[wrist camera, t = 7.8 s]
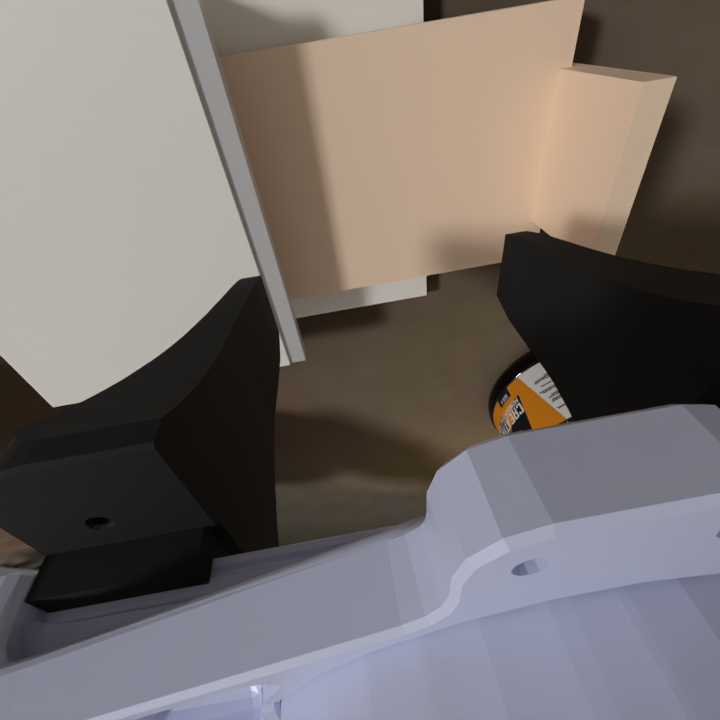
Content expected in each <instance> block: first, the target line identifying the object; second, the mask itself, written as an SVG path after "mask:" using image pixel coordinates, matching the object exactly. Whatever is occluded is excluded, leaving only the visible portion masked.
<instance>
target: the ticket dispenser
mask: <svg viewBox="0 0 720 720" xmlns="http://www.w3.org/2000/svg"><path fill="white" fill-rule="evenodd" d="M421 22H423V0H0V355H1V356H2V357H3V358H4V359H5V360H6V361H7V362H8V363H9V364H10V365H11V366H12V367H13V368H14V369H15V370H16V371H17V372H18V373H19V374H20V375H21V376H22V377H23V378H24V379H25V380H26V381H27V382H28V383H29V384H30V385H31V386H32V387H33V388H34V389H35V390H36V391H37V392H38V393H39V394H40V395H41V396H42V397H43V398H44V399H45V400H46V401H47V402H48V403H49V404H50V405H51V406H52V407H58V406H63V405H69V404H75V403H80V402H82V401H84V400H86V399H88V398H90V397H92V396H94V395H96V394H98V393H99V392H101V391H103V390H105V389H107V388H109V387H110V386H112V385H114V384H116V383H117V382H119V381H121V380H122V379H124V378H126V377H127V376H129V375H130V374H132V373H133V372H135V371H136V370H138V369H139V368H141V367H143V366H144V365H146V364H147V363H149V362H150V361H152V360H153V359H155V358H156V357H157V356H159V355H160V354H161V353H163V352H164V351H165V350H167V349H168V348H169V347H171V346H172V345H173V344H174V343H176V342H177V341H178V340H179V339H180V338H182V337H183V336H184V335H185V334H186V333H187V332H188V331H189V330H190V329H191V328H192V327H193V326H194V325H196V324H197V323H198V322H199V321H200V320H201V319H202V318H203V317H204V316H205V315H206V314H207V313H208V312H209V311H210V310H211V309H212V308H213V307H214V305H215V304H216V303H217V302H218V301H219V300H220V299H221V298H222V297H223V296H224V295H225V294H226V293H227V291H228V290H229V289H230V288H231V287H232V286H233V285H234V284H235V283H236V282H237V281H238V280H239V279H243V278H249V277H255V276H261V277H262V280H263V284H264V287H265V290H266V293H267V296H268V299H269V302H270V305H271V308H272V311H273V315H274V318H275V321H276V324H277V327H278V330H279V339H280V367H281V366H287V365H290V363H293V362H298V361H304V360H306V351H305V348H304V344H303V341H302V338H301V334H300V331H299V327H298V324H297V321H296V318H301V317H306V316H312V315H318V314H323V313H329V312H334V311H340V310H346V309H351V308H357V307H363V306H368V305H374V304H379V303H385V302H391V301H396V300H402V299H408V298H413V297H419V296H424V295H427V286H426V276H422V277H416V278H411V279H405V280H400V281H394V282H388V283H383V284H377V285H371V286H366V287H360V288H354V289H349V290H343V291H337V292H332V293H326V294H321V295H315V296H309V297H304V298H298V299H292V300H290V297H289V293H288V290H287V287H286V283H285V280H284V276H283V273H282V270H281V266H280V263H279V259H278V256H277V252H276V249H275V246H274V242H273V239H272V235H271V232H270V229H269V225H268V222H267V218H266V215H265V212H264V208H263V205H262V201H261V198H260V195H259V191H258V188H257V184H256V181H255V178H254V174H253V171H252V167H251V164H250V161H249V157H248V154H247V150H246V147H245V144H244V140H243V137H242V133H241V130H240V127H239V123H238V120H237V116H236V113H235V110H234V106H233V103H232V99H231V96H230V92H229V89H228V86H227V82H226V79H225V75H224V72H223V69H222V65H221V62H220V58H219V57H223V56H229V55H234V54H240V53H246V52H252V51H258V50H264V49H269V48H275V47H281V46H287V45H293V44H299V43H304V42H310V41H316V40H322V39H328V38H334V37H339V36H345V35H351V34H357V33H363V32H369V31H374V30H380V29H386V28H392V27H398V26H404V25H409V24H415V23H421Z"/></svg>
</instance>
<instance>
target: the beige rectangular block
mask: <svg viewBox="0 0 720 720" xmlns="http://www.w3.org/2000/svg"><path fill="white" fill-rule="evenodd" d="M584 1H585V0H549V1H544V2H538V3H532V4H526V5H520V6H514V7H509V8H503V9H497V10H491V11H485V12H479V13H474V14H468V15H462V16H456V17H450V18H444V19H439V20H433V21H427V22H421V23H415V24H409V25H404V26H398V27H392V28H386V29H380V30H374V31H369V32H363V33H357V34H351V35H345V36H339V37H334V38H328V39H322V40H316V41H310V42H304V43H299V44H293V45H287V46H281V47H275V48H269V49H264V50H258V51H252V52H246V53H240V54H234V55H229V56H223V57H219V58H220V62H221V65H222V69H223V72H224V75H225V79H226V82H227V86H228V89H229V92H230V96H231V99H232V103H233V106H234V110H235V113H236V116H237V120H238V123H239V127H240V130H241V133H242V137H243V140H244V144H245V147H246V150H247V154H248V157H249V161H250V164H251V167H252V171H253V174H254V178H255V181H256V184H257V188H258V191H259V195H260V198H261V201H262V205H263V208H264V212H265V215H266V218H267V222H268V225H269V229H270V232H271V235H272V239H273V242H274V246H275V249H276V252H277V256H278V259H279V263H280V266H281V270H282V273H283V276H284V280H285V283H286V287H287V290H288V293H289V297H290V300H292V299H298V298H304V297H309V296H315V295H321V294H326V293H332V292H337V291H343V290H349V289H354V288H360V287H366V286H371V285H377V284H383V283H388V282H394V281H400V280H405V279H411V278H416V277H422V276H428V275H433V274H439V273H445V272H450V271H456V270H462V269H467V268H473V267H478V266H484V265H490V264H495V263H501V262H502V255H503V248H504V241H505V234H511V233H516V232H522V231H530V232H536V233H539V232H540V228H541V229H542V230H544V231H545V232H546V233H547V234H549V235H550V236H551V237H555V238H558V239H561V240H565V241H568V242H571V243H574V244H577V245H581V246H584V247H587V248H591V249H594V250H597V251H601V252H604V253H608V254H612V255H615V254H616V251H617V248H618V246H619V243H620V240H621V237H622V234H623V231H624V228H625V225H626V223H627V220H628V217H629V214H630V211H631V208H632V205H633V202H634V199H635V197H636V194H637V191H638V188H639V185H640V182H641V179H642V176H643V173H644V171H645V168H646V165H647V162H648V159H649V156H650V153H651V150H652V147H653V145H654V142H655V139H656V136H657V133H658V130H659V127H660V124H661V122H662V119H663V116H664V113H665V110H666V107H667V104H668V101H669V98H670V96H671V93H672V90H673V87H674V84H675V81H676V78H677V76H671V75H663V74H655V73H648V72H640V71H633V70H625V69H618V68H610V67H603V66H595V65H588V64H580V63H573V58H574V53H575V47H576V42H577V37H578V32H579V27H580V22H581V17H582V11H583V6H584Z"/></svg>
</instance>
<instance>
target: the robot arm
mask: <svg viewBox="0 0 720 720" xmlns="http://www.w3.org/2000/svg"><path fill="white" fill-rule="evenodd" d="M497 296H498V298H499V300H500V303H501V305H502V307H503V309H504V311H505V313H506V315H507V317H508V319H509V320H510V322H511V323H512V325H513V326H514V328H515V329H516V330H517V332H518V333H519V335H520V336H521V338H522V339H523V340H524V342H525V343H526V344H527V346H528V347H529V349H530V350H531V351H532V353H533V354H534V355H535V357H536V358H537V360H538V361H539V362H540V364H541V365H542V366H543V368H544V369H545V371H546V372H547V374H548V375H549V377H550V378H551V380H552V381H553V383H554V385H555V386H556V388H557V390H558V392H559V394H560V396H561V397H562V399H563V401H564V403H565V405H566V406H567V408H568V410H569V412H570V414H571V416H572V418H573V420H574V422H569V423H564V424H558V425H553V426H547V427H542V428H536V429H530V430H525V431H519V432H514V433H508V434H503V435H500V436H497V437H494V438H491V439H488V440H485V441H482V442H479V443H476V444H473V445H470V446H467V447H466V448H464V449H463V450H462V451H460V452H459V453H457V454H456V455H455V456H453V457H452V458H451V459H449V460H448V461H447V462H445V463H444V464H442V465H441V466H440V468H439V469H438V470H437V472H436V474H435V476H434V478H433V480H432V483H431V485H430V487H429V489H428V491H427V513H426V515H424V516H421V517H418V518H416V519H413V520H410V521H407V522H405V523H402V524H399V525H394V526H389V527H384V528H378V529H373V530H367V531H362V532H356V533H351V534H345V535H340V536H334V537H329V538H324V539H318V540H313V541H307V542H302V543H296V544H291V545H285V546H280V547H279V545H278V531H277V514H276V495H275V468H274V418H275V409H276V399H277V389H278V380H279V369H280V339H279V330H278V327H277V324H276V321H275V318H274V315H273V311H272V308H271V305H270V302H269V299H268V296H267V293H266V290H265V287H264V284H263V280H262V277H261V276H255V277H249V278H243V279H239V280H238V281H237V282H236V283H235V284H234V285H233V286H232V287H231V288H230V289H229V290H228V291H227V293H226V294H225V295H224V296H223V297H222V298H221V299H220V300H219V301H218V302H217V303H216V304H215V305H214V307H213V308H212V309H211V310H210V311H209V312H208V313H207V314H206V315H205V316H204V317H203V318H202V319H201V320H200V321H199V322H198V323H197V324H196V325H194V326H193V327H192V328H191V329H190V330H189V331H188V332H187V333H186V334H185V335H184V336H183V337H182V338H180V339H179V340H178V341H177V342H176V343H174V344H173V345H172V346H171V347H169V348H168V349H167V350H165V351H164V352H163V353H161V354H160V355H159V356H157V357H156V358H155V359H153V360H152V361H150V362H149V363H147V364H146V365H144V366H143V367H141V368H139V369H138V370H136V371H135V372H133V373H132V374H130V375H129V376H127V377H126V378H124V379H122V380H121V381H119V382H117V383H116V384H114V385H112V386H110V387H109V388H107V389H105V390H103V391H101V392H99V393H98V394H96V395H94V396H92V397H90V398H88V399H86V400H84V401H82V402H80V403H78V404H76V405H74V406H72V407H70V408H68V409H66V410H63V411H61V412H59V413H57V414H55V415H52V416H50V417H48V418H46V419H44V420H41V421H39V422H37V423H35V424H33V425H30V426H28V427H26V428H23V429H21V430H18V431H17V432H16V434H15V435H14V436H13V438H12V439H11V441H10V442H9V444H8V445H7V447H6V448H5V450H4V451H3V453H2V454H1V456H0V528H1V529H3V530H4V531H6V532H8V533H9V534H11V535H13V536H14V537H16V538H18V539H19V540H21V541H22V542H24V543H26V544H27V545H29V546H31V547H32V548H34V549H35V550H37V551H39V552H40V553H42V554H44V555H45V556H46V557H45V559H44V561H43V563H42V565H41V568H40V570H39V572H38V574H34V573H25V572H18V573H9V574H3V575H0V720H720V274H713V273H704V272H696V271H689V270H682V269H676V268H671V267H665V266H660V265H654V264H649V263H644V262H640V261H635V260H631V259H627V258H623V257H619V256H616V255H612V254H608V253H604V252H601V251H597V250H594V249H591V248H587V247H584V246H581V245H577V244H574V243H571V242H568V241H565V240H561V239H558V238H555V237H551V236H548V235H544V234H540V233H536V232H530V231H522V232H516V233H511V234H505V241H504V248H503V255H502V262H501V269H500V276H499V283H498V290H497Z"/></svg>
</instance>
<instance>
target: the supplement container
mask: <svg viewBox="0 0 720 720" xmlns="http://www.w3.org/2000/svg"><path fill="white" fill-rule="evenodd" d="M488 410H489V415H490V419H491V421H492V423H493V425H494V427H495V428H496V430H497V431H498V433H499V435H503V434H508V433H514V432H519V431H525V430H530V429H536V428H542V427H547V426H553V425H558V424H564V423H569V422H574V420H573V418H572V416H571V414H570V412H569V410H568V408H567V406H566V405H565V403H564V401H563V399H562V397H561V396H560V394H559V392H558V390H557V388H556V386H555V385H554V383H553V381H552V380H551V378H550V377H549V375H548V374H547V372H546V371H545V369H544V368H543V366H542V365H541V364H540V362H539V361H538V360H537V358H536V357H535V355H534V354H533V353H532V351H531V352H529V353H527V354H526V355H524V356H522V357H521V358H519V359H518V360H517V361H515V362H514V363H513V364H512V365H511V366H510V367H508V368H507V369H506V370H505V371H504V373H503V374H502V375H501V376H500V377H499V379H498V380H497V381H496V383H495V385H494V387H493V388H492V391H491V393H490V397H489V403H488Z"/></svg>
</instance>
